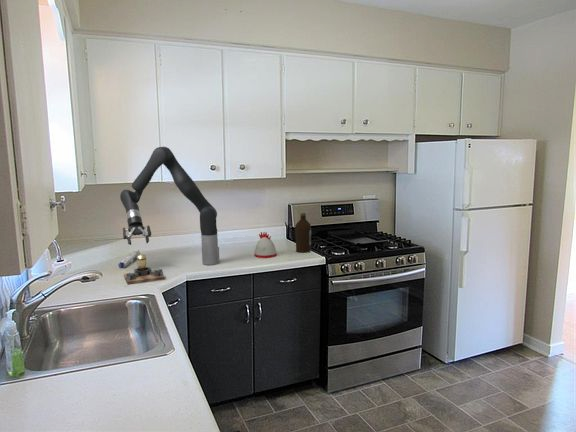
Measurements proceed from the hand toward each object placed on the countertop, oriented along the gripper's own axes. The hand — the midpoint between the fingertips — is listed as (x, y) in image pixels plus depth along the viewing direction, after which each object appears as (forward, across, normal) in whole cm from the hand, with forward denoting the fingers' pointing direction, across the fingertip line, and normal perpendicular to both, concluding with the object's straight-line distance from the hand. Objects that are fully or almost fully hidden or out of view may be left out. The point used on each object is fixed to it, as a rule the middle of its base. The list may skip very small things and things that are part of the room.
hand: (139, 243), depth 220 cm
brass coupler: (+16, 0, +5) cm, 17 cm away
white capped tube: (-7, -2, +31) cm, 32 cm away
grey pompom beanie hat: (+10, +75, +14) cm, 77 cm away
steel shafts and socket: (+18, 0, +3) cm, 18 cm away
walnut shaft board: (+19, 0, +4) cm, 20 cm away
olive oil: (+12, +101, +12) cm, 103 cm away
